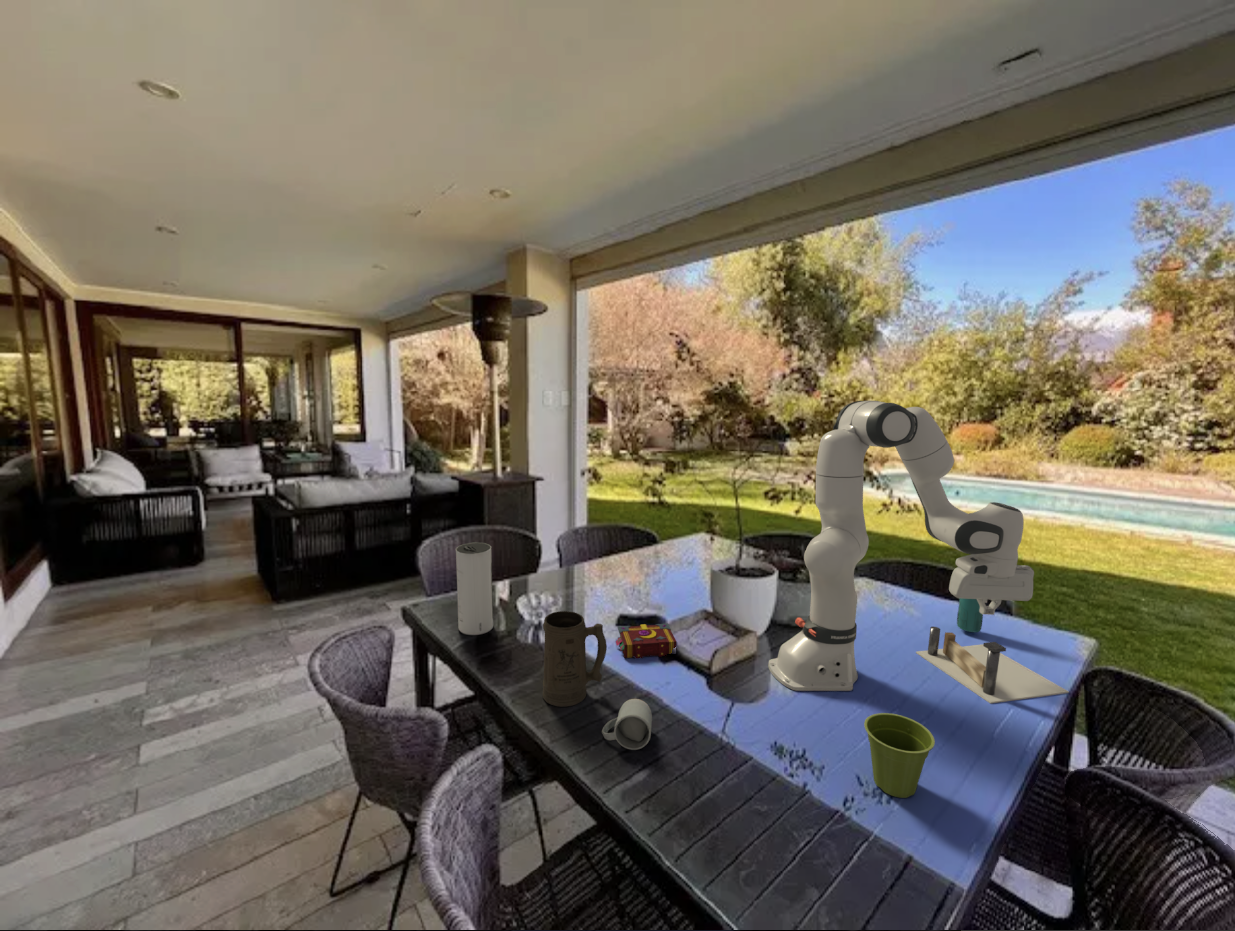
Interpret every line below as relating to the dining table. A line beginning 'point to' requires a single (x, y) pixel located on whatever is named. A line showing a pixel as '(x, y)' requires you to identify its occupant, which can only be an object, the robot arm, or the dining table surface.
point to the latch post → (933, 641)
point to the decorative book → (646, 640)
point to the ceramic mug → (631, 725)
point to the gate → (963, 659)
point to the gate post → (992, 666)
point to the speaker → (474, 588)
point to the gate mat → (1010, 677)
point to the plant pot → (897, 752)
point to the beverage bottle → (969, 615)
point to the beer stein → (569, 658)
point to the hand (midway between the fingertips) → (986, 613)
